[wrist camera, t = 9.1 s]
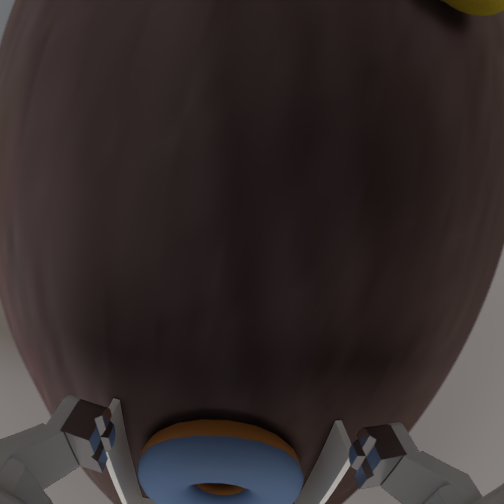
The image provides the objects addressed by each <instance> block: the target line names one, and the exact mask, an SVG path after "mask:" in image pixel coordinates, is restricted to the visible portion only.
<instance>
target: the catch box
mask: <svg viewBox="0 0 504 504" xmlns="http://www.w3.org/2000/svg"><path fill="white" fill-rule="evenodd" d="M108 408H109V409H110V410H111V414H112V417H111V419H110V421H111V422H112V423H113V424H114V426H115V441H114V445H113V447H112V449H111V450H110V451H108V452H106V454H107V457H108V460H107V462H106V465H107V468H108V471H109V473H110V476H111V478H112V481H113V483H114V486H115V488H116V490H117V493H118V495H119V497H120V499H121V501H122V504H156V503H155V502H154V501H152V500H151V499H149V498H144V497H143V496H142V493H141V490H140V487H139V483H138V480H137V476H136V473H135V469H134V465H133V461H132V457H131V453H130V449H129V445H128V440H127V436H126V431H125V426H124V421H123V415H122V410H121V404H120V400H118V399H115V398H113V400H112V402H111V404H110V406H109V407H108ZM350 447H351V442H350V440H349V437H348V435H347V433H346V430H345V428H344V425H343V423H342V421H341V420H337V421H335V422H334V425H333V427H332V429H331V432H330V434H329V436H328V438H327V440H326V443H325V445H324V447H323V449H322V451H321V453H320V455H319V457H318V459H317V462H316V464H315V466H314V468H313V470H312V471H311V473H310V475H309V477H308V479H307V481H306V483H305V485H304V487H303V488H302V490H301V493H300V495H299V497H298V499H297V500H296V501H295V503H294V504H325V502H326V501H327V500H328V498H329V497H330V495H331V494H332V493H333V491H334V490H335V488H336V487H337V485H338V484H339V482H340V481H341V479H342V478H343V476H344V474H345V473H346V471H347V470H348V468H349V466H350V462H349V449H350Z"/></svg>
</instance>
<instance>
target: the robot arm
mask: <svg viewBox="0 0 504 504" xmlns="http://www.w3.org/2000/svg"><path fill="white" fill-rule="evenodd" d="M111 417H112V414H111V410H110V409H109V408H107V407H103V406H100V405H97V404H94V403H91V402H88V401H85V400H82V399H79V398H76V397H73V396H71V395H68V396H66V397H65V398H64V399H63V401H62V402H61V404H60V405H59V407H58V408H57V409H56V411H55V412H54V414H53V415H52V417H51V418H50V420H49V421H48V423H47V424H46V425H45V424H43V423H42V424H40V425H37V426H35V427H32V428H30V429H27V430H24V431H22V432H19V433H17V434H14V435H11V436H8V437H5V438H3V439H0V504H53V503H52V501H51V500H50V498H49V497H48V496H47V494H45V492H44V491H43V490H44V489H45V488H47V487H48V486H50V485H51V484H53V483H55V482H56V481H58V480H60V479H61V478H63V477H64V476H66V475H67V474H69V473H70V472H72V471H73V470H75V469H77V468H78V467H79V465H80V466H83V467H86V468H89V469H92V470H95V471H98V472H101V473H102V472H103V470H104V467H105V465H106V462H107V460H108V457H107V454H106V452H108V451H110V450H111V449H112V447H113V445H114V441H115V426H114V424H113V423H112V422H111V421H110V419H111ZM357 436H358V439H357V440H356V441H355V442H353V443H352V445H351V447H350V449H349V462H350V465H351V467H353V468H354V469H355V470H357V471H356V473H355V475H354V476H355V479H356V481H357V484H358V487H359V489H364V488H370V487H375V486H380V485H381V487H382V488H383V489H384V490H385V491H387V492H388V493H389V494H390V495H391V496H393V497H394V498H395V499H396V500H398V501H399V502H400V503H401V504H504V483H503V484H502V485H501V486H499V487H498V488H496V489H494V490H493V491H491V492H490V493H488V494H487V495H485V496H483V497H482V495H481V494H480V492H479V491H478V489H477V487H476V486H475V484H474V483H473V481H472V480H471V478H470V476H469V475H468V474H466V473H464V472H462V471H460V470H458V469H456V468H454V467H452V466H450V465H448V464H446V463H444V462H442V461H440V460H438V459H436V458H435V457H433V456H431V455H429V454H427V453H425V452H424V451H421V452H419V450H418V449H417V447H416V445H415V444H414V442H413V440H412V439H411V437H410V435H409V434H408V432H407V430H406V429H405V427H404V425H403V424H402V423H400V422H398V423H392V424H387V425H386V424H385V425H378V426H371V427H364V428H362V429H360V430H359V432H358V434H357Z"/></svg>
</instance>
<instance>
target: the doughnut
mask: <svg viewBox="0 0 504 504" xmlns="http://www.w3.org/2000/svg"><path fill="white" fill-rule="evenodd" d="M138 479H139V482H140V484H141V486H142V488H143V490H144V491H145V493H146V494H147V496H148V497H149V498H150V499H151V500H152V501H154V502H155V503H156V504H293V503H294V502H295V501H296V500H297V499H298V497H299V495H300V493H301V489H302V485H303V482H304V475H303V472H302V467H301V464H300V462H299V460H298V457H297V455H296V453H295V450H294V449H293V448H292V447H291V446H289V445H288V444H287V443H286V442H285V441H283V440H282V439H281V438H280V437H279V436H277V435H276V434H274V433H272V432H269V431H267V430H265V429H262V428H260V427H258V426H255V425H251V424H246V423H241V422H236V421H231V420H209V419H200V420H194V421H187V422H181V423H176V424H174V425H172V426H169V427H167V428H165V429H162V430H160V431H158V432H157V433H155V434H154V435H153V436H152V437H151V438H150V439H149V441H148V442H147V443H146V444H145V445H144V446H143V448H142V450H141V455H140V459H139V466H138Z"/></svg>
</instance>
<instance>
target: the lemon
mask: <svg viewBox="0 0 504 504" xmlns="http://www.w3.org/2000/svg"><path fill="white" fill-rule="evenodd" d="M441 1H444V2H445V3H447V4H448V5H450V6H451V7H453V8H455V9H456V10H459V11H461V12H464V13H466V14H470V15H477V16H489V15H494V14H497V13H499V12H502V11H504V0H441Z"/></svg>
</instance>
